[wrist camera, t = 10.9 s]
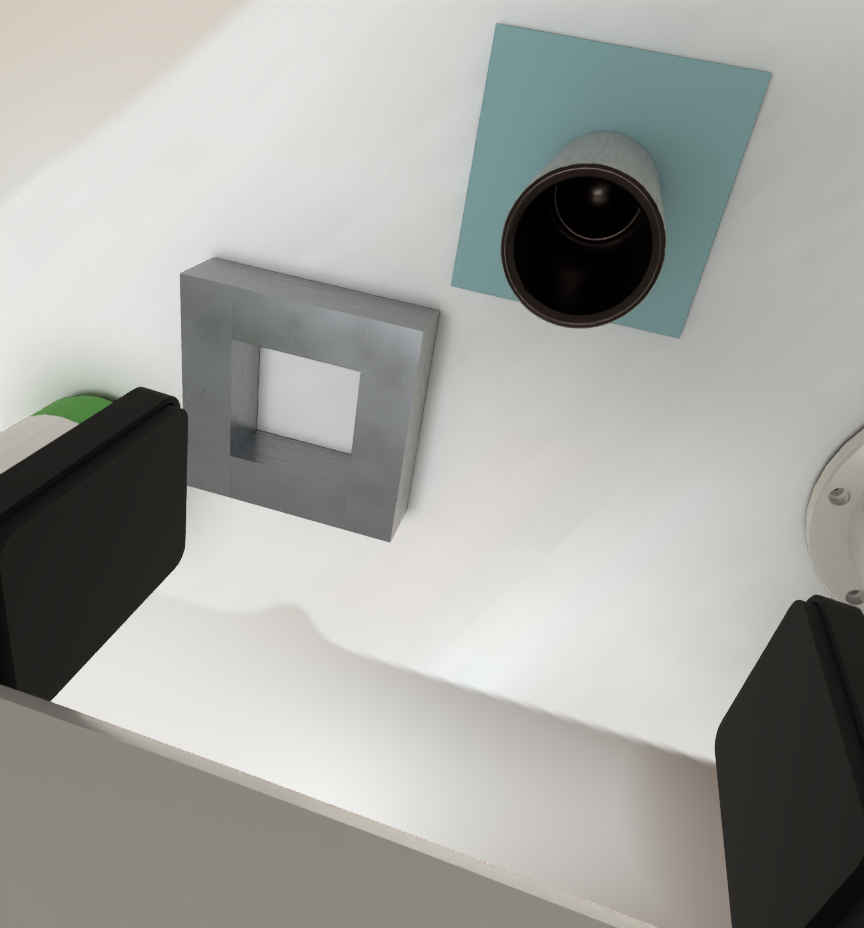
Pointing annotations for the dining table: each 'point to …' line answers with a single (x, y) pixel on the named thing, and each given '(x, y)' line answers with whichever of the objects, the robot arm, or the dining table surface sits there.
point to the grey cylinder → (587, 233)
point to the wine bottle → (46, 427)
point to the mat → (616, 110)
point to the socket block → (318, 338)
